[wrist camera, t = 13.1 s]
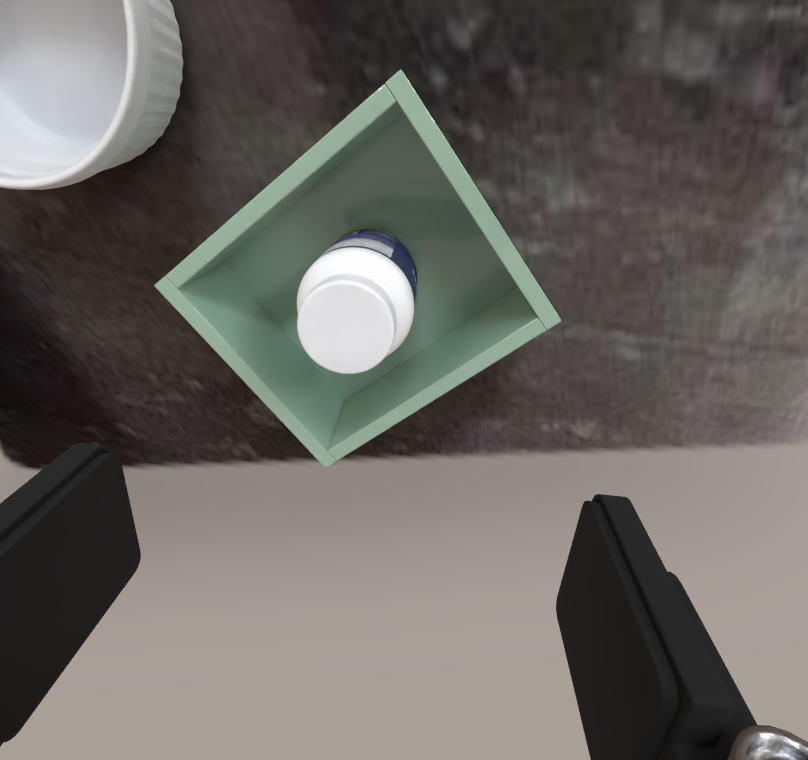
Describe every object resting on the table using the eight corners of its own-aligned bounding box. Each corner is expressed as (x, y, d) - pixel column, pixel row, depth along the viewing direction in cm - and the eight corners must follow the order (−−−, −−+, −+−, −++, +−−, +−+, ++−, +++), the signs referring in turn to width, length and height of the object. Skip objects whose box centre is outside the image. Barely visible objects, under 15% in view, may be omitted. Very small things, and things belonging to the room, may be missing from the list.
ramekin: (142, -171, 22) (26, -298, 16) (244, 151, 27) (188, 152, 21) (-109, -82, 24) (-304, -164, 17) (33, 204, 29) (-77, 219, 23)
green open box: (408, 87, 26) (400, 68, 19) (534, 283, 30) (561, 321, 23) (212, 256, 30) (153, 285, 24) (345, 408, 34) (325, 468, 27)
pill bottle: (412, 324, 30) (404, 398, 21) (323, 313, 30) (278, 383, 21) (423, 232, 28) (419, 272, 19) (327, 220, 28) (278, 255, 19)
